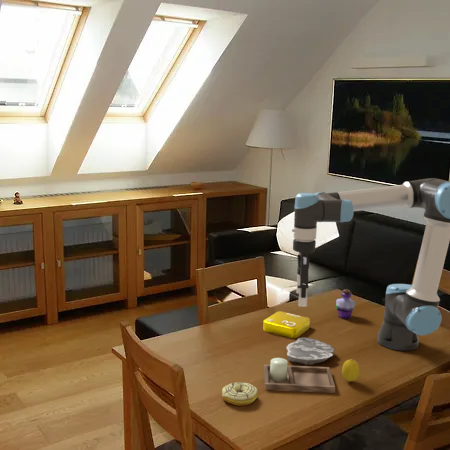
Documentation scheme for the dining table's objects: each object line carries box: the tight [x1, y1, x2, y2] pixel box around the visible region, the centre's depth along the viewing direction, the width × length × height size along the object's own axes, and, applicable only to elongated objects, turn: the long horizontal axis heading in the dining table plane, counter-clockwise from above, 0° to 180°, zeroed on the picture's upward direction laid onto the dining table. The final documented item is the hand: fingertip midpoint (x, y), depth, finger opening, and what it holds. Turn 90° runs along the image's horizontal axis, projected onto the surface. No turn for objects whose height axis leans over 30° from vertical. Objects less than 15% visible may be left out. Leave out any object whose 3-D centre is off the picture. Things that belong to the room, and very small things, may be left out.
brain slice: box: [285, 337, 336, 366], centre depth 209 cm, size 20×17×3 cm
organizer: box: [263, 364, 336, 394], centre depth 190 cm, size 22×14×2 cm, turn 88°
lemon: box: [341, 358, 360, 383], centre depth 189 cm, size 6×6×8 cm
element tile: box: [262, 310, 311, 339], centre depth 233 cm, size 15×15×5 cm
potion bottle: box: [335, 288, 356, 320], centre depth 247 cm, size 9×9×12 cm
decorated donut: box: [221, 381, 258, 406], centre depth 177 cm, size 10×11×4 cm
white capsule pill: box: [269, 357, 289, 383], centre depth 189 cm, size 6×6×6 cm
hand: (301, 299), depth 199 cm, fingers open, 13 cm apart
